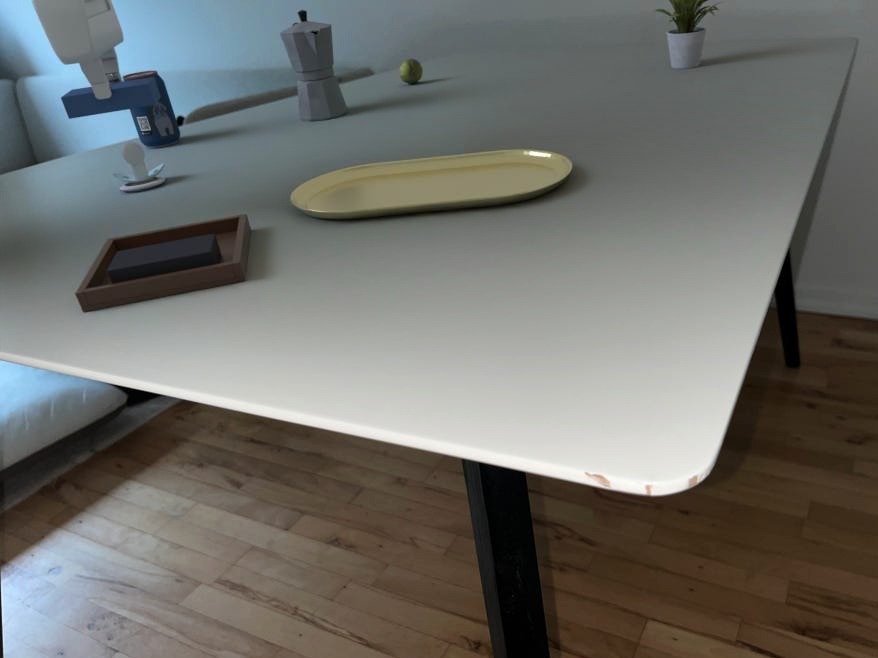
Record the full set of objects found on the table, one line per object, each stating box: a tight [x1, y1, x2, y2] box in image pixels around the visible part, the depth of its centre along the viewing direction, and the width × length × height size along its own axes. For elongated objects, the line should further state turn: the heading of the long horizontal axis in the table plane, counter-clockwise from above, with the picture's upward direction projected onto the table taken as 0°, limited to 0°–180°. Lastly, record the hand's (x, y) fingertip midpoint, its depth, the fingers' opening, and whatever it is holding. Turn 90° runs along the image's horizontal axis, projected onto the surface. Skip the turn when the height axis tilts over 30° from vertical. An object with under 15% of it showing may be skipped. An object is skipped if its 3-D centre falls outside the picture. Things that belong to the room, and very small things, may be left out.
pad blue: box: [60, 77, 161, 120], centre depth 91 cm, size 10×6×2 cm, turn 104°
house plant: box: [652, 0, 724, 70], centre depth 135 cm, size 14×14×16 cm
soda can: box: [121, 70, 181, 149], centre depth 130 cm, size 7×7×12 cm
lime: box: [398, 58, 424, 85], centre depth 155 cm, size 4×5×5 cm
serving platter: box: [289, 148, 574, 220], centre depth 92 cm, size 19×35×2 cm, turn 88°
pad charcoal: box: [107, 234, 221, 284], centre depth 76 cm, size 10×6×2 cm, turn 103°
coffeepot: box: [279, 9, 348, 122], centre depth 135 cm, size 15×9×18 cm, turn 26°
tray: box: [74, 213, 252, 313], centre depth 79 cm, size 16×16×2 cm
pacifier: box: [112, 141, 166, 192], centre depth 108 cm, size 7×6×6 cm
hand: (110, 93), depth 90 cm, fingers closed on pad blue, 5 cm apart
